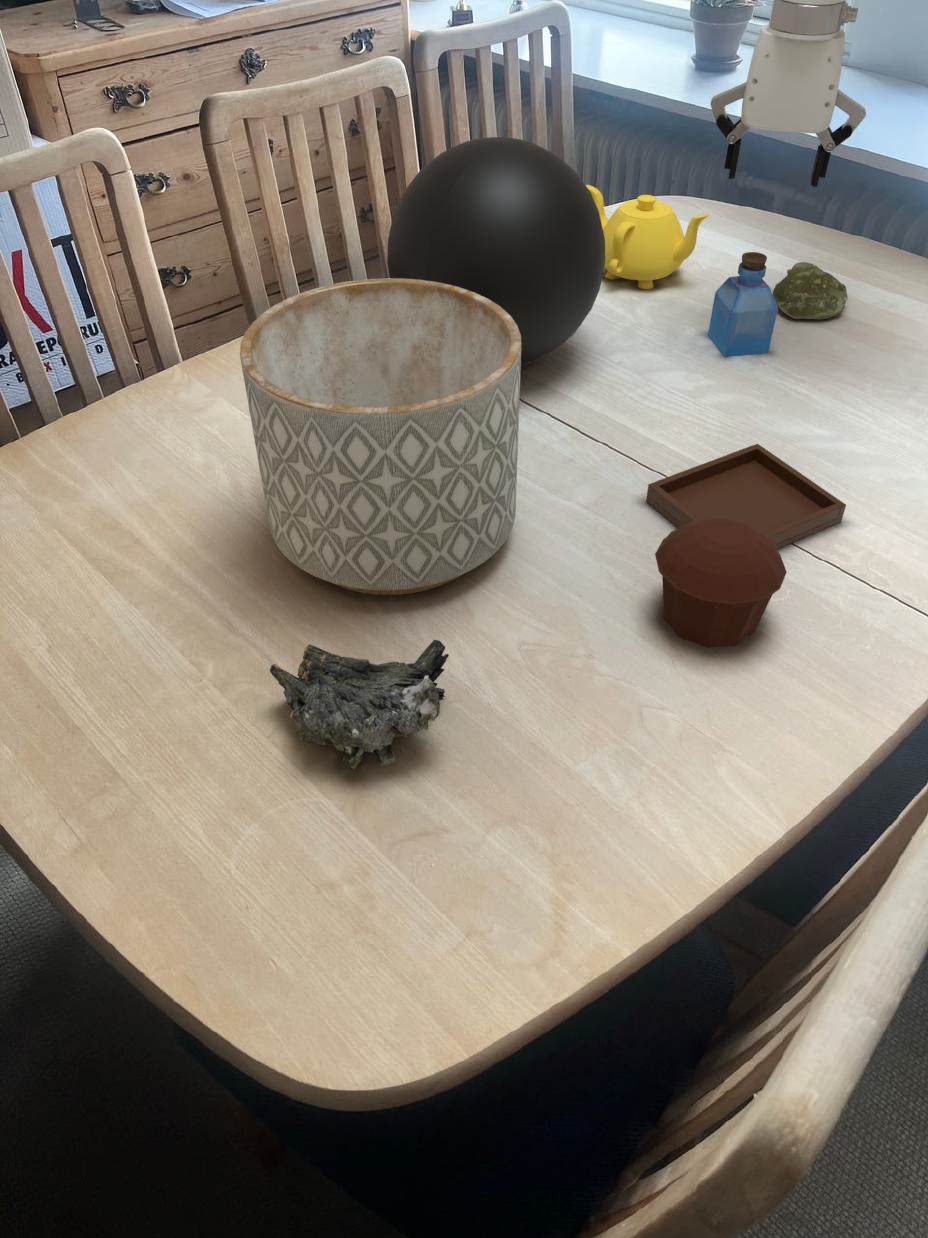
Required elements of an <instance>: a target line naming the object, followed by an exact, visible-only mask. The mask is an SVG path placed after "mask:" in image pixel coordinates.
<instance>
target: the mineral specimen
mask: <svg viewBox="0 0 928 1238" xmlns="http://www.w3.org/2000/svg"><path fill="white" fill-rule="evenodd" d="M445 649H446V645H444V644H443V642H441V641H440V640H439V639H433V640H432V641H431V642H430V644H429V645H428V646H427V647H426V648H425V649H424V650H423V652H422V653H421V654H420V655H419V657H418V658H417V659H416V660H415V661H414V663H413V662H409V663H405V662H399V661H390V662H384V663H379V664H374V663H371V662H370V660H369V659H366V658H365V659H364V658H355V657H349V656H341V655H340V654H335V653H331V652H329V651H326V650H324V649H322V648H320V647H317V646H315V645H314V644H313V645H312V644H311V643H309V644H308V645H307V646H306V647H305V648H304V652H303V656H302V661H301V663H299V666H298V669H297V676H298V677H297V676H295V675H294V674H292V673H291V672H289V671H287V670H285V669H282V667H280V666H278V665H277V664H276V663H273V664H271V665H270V668H269V673H270V674H271V675H272V677H274V679H275V680H276V681H277V682H278V685H279V686H281V687H282V688H283V689H284V690H283V695H284V697H285V700H286V701H285V702H286V704H287V706H288V708H290V709H291V710H292V711H291V713H290V716H289V718H291V719H293V720H294V722H295V731H297V733H298V736H299V740H300V741H302V742H304V743H307V744H310V743H311V742H313V743H315V744H317V745H322V746H327V747H328V746H334V748H335V749H336V750H337V751H340V752H345V755H344V756H343V758H342V761H343V764H344V765H345V766H346V767H349V768H351V769H353V770H356V769H357V767H358V766H359V765H360V762H363V761H364V760H365V759H366V755H368V754H369V753H373V754H374V756H375V757H376V761H377V763H378V764H379V765H380V766H386V765H390V764H393V763H394V762H395V760H396V758H395V755H394V752H393V745H392V742H393V740H394V738H396V737H404V738H407V737H408V735H409V734H412V733H413V734H414V733H418V732H420V731H421V730H428V729H429V721H433V722H434V721H435V719H436V718H437V717H439V716H440V714H441V708H440V707H441V703H440V701H444V700H445V697H446V696H445V692H446V691H445V689H444V688H440V687H437V686H438V683H437V682H436V680H437V679H438V678H439V677H440V676H441V675H442V674H443V673H444V671H445V670H446V669H445V668H442V667H443V666H444V665H445V663H446V662H447V660H448V658H449V656H450V655H449V653H445V654H444V651H445ZM443 654H444V655H443Z"/></svg>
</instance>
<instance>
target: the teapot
mask: <svg viewBox="0 0 928 1238" xmlns="http://www.w3.org/2000/svg"><path fill="white" fill-rule="evenodd" d="M585 186H586V187H587V188H588V190H589V191H590V193H591V195H592V197H593V199H594V202H595V204H596V206H597V208H598V211H599V214H600V219H601V223H602V228H603V233H604V237H605V266H604V269H605V270H606V271H607V272H606V273H605V276H604V277H605V278H606V279H608V280H619V279H620V278H622V279H626V280H632V281H637V287H638V288H640V289H643V290H650V289H653V288H654V280H659V279H664V278H666V277H669V276H670V275H672V273H674V272H675V271H676V270H677V269H678V268H679V267H681V265H683V262H684V261H685V260H687V259H688V258H689V257H690V256H691V255H692V253H693V252H694V250H695V248H696V245H697V238H698V230H699V227H700V225H701V223H702V222H703V221H704V220H706V219H707V218H708V217H710V214H708V213H707V214H697V215H695V216H693V217H692V218H691V219H690V220H689V222H688V225H687V228H686V231H685V234H684V230H683V228H682V225H681V223H680V221H679V219H678V217H677V215H676V213H675V211H674V209H673V208H672V206H670V205H669V204H668V203H665V202H664V201H660V200H657V197H656V196H655V195H651V194H641V195H639V196H638V197H637V198H636V199H631V200H627V201H624V202H623V203H621V204H620V205H619V206H618V207H617V209H615V210H614V212H613V214H611V216H610V217H609V218H608V217H607V215H606V212H605V202H604V196H603V194H602V193H601V191H600V190H599V189H598V188H596V187H594V186H592V185H590V184H585Z"/></svg>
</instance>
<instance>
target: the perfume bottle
mask: <svg viewBox="0 0 928 1238" xmlns="http://www.w3.org/2000/svg"><path fill="white" fill-rule="evenodd" d="M767 260H768V256H767V255H766V254H764V253H761V252H758V251H757V252H756V251H747V252H745V253H742V255H741V262H740V263H738V268H737V275H736V276H729V277H728V278H727V279H726V280H725V281H724V282H723V283H722V284H721V285H720V286H719V287H718V288H717V290H716V291H715V292H714V297H713V303H712V309H711V315H710V321H709V327H708V333H707V336H708V337H709V339H710V340H711V341H712V342H713V344H714V346H716V348H717V349H718V350H719V352H720V353H721V355H722V356H723V357H724V358H725V357H727V358H728V357H736V356H747V355H749V356H750V355H756V354H757V355H758V354H759V355H760V354H768V353H769V351H770V347H771V343H772V337H773V333H774V328H775V324H776V319H777V316H778V310H779V308H778V306H777V304H776V302H775V300H774V297H773V290H772V288H771V286H769V284H767V282H766V281H765V280H764V279H763V278H764V277H766V272H767V265H766V262H767Z"/></svg>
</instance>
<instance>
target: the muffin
mask: <svg viewBox="0 0 928 1238" xmlns="http://www.w3.org/2000/svg"><path fill="white" fill-rule="evenodd" d="M654 556H655V560H656V565H657V569H658V573H659V574H660V575H661V577H662V579H661V580H662V605H663V620H664V621H665V622H666V623H667V624H668V625H669V626H670V627H671V628H672V629H673V630H674V632H675V633H676V635H677V636H678V638H681V639H684V640H687V641H689V642H694V643H696V644H698V645H700V646H703V647H705V648H706V649H707V648H709V649H710V648H716V647H736V646H737V645H739V644H740V643H741V642H742V641H743V640H744V639H746V638H747V637H749V636H751V635H752V634H754V633H755V632H756V630H757V628H758V627H759V624H760V621H761V620H762V617H763V616H764V613H765V612H766V609H767V607H768V605H769V604H770V601H771V598H772V596H773V595H774V594H775V593H777V592H778V591H779V590H780V589H781V588H782V585H783V582H784V580H785V578H786V575H787V572H788V571H787V569H786V566H785V564H784V561H783V558H782V555H781V554H780V552H779V549H777V547H776V545H775V544H774V543H773V541H772V540H771V539H769V538H768V537H767V536H766V535H765V534H763V533H762V532H761V531H760V530H758V529H757V528H755V527H753V526H751V525H748V524H746V523H743V522H740V521H738V520H734V519H726V518H718V517H714V518H706V519H698V520H693V521H691V522H689V523H687V524H685V525H683V526H681V527H679V528H678V527H677V528H676V529H674V530H672V531H671V532H670V533H669V534H668V535H667V536H666V537H664V538H663V539H662V541H661V542H660V544H659V546H658V548H657V549H656V551H655V553H654Z"/></svg>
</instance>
